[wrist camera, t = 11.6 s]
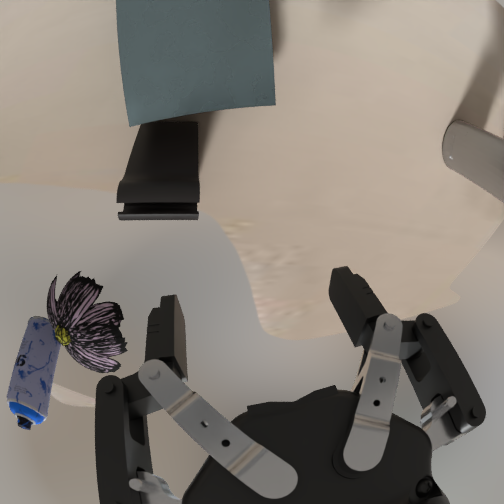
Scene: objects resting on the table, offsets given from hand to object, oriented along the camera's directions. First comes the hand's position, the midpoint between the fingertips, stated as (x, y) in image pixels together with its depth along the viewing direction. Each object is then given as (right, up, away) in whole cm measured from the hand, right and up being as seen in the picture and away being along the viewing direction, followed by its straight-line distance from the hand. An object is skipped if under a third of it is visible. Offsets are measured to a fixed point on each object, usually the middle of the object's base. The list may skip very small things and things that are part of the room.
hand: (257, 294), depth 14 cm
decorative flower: (-25, -5, +22) cm, 34 cm away
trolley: (-6, +25, +5) cm, 26 cm away
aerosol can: (-38, -12, +24) cm, 47 cm away
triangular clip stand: (-9, +12, +14) cm, 21 cm away
